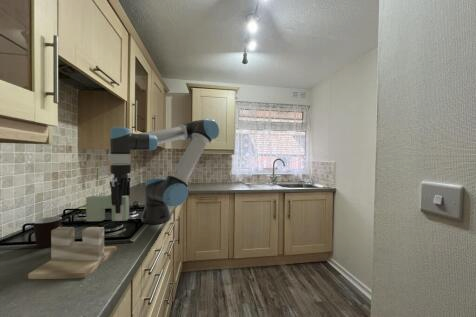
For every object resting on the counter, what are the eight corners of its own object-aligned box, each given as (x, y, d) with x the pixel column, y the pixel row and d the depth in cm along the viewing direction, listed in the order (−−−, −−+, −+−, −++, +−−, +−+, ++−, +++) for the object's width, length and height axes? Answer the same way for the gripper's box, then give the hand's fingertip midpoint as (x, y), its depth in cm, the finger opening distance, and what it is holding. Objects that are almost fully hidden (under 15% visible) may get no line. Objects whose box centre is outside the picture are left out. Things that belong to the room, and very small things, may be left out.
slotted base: (72, 250, 79) (72, 220, 79) (116, 250, 80) (116, 220, 80) (28, 279, 61) (28, 239, 61) (85, 278, 62) (85, 239, 62)
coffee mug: (44, 250, 79) (44, 224, 79) (26, 248, 81) (26, 222, 81) (74, 238, 90) (74, 215, 90) (58, 236, 92) (58, 213, 92)
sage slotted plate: (86, 221, 88) (86, 197, 88) (91, 218, 91) (90, 195, 91) (126, 220, 89) (125, 197, 89) (129, 218, 92) (128, 195, 92)
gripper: (121, 163, 97) (121, 213, 98) (100, 165, 81) (101, 225, 82) (137, 163, 98) (138, 213, 98) (120, 165, 82) (121, 225, 82)
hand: (121, 218), depth 90 cm, fingers closed on sage slotted plate, 3 cm apart
